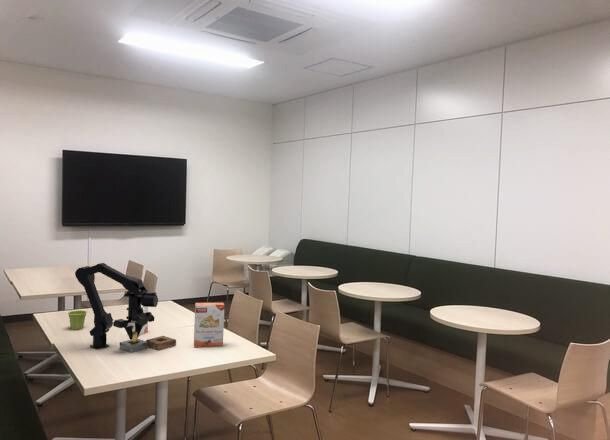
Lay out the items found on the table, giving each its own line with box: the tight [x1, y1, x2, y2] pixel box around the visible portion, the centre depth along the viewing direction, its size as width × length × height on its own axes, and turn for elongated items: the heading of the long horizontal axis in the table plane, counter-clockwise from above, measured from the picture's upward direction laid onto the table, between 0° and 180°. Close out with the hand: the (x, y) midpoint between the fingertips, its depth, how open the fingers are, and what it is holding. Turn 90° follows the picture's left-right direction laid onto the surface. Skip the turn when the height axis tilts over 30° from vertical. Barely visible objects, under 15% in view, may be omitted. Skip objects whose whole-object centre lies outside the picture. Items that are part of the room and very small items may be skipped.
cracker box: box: [193, 302, 225, 348], centre depth 232 cm, size 14×6×21 cm, turn 105°
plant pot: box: [67, 310, 88, 331], centre depth 253 cm, size 9×9×9 cm
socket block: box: [119, 338, 149, 354], centre depth 223 cm, size 9×9×3 cm
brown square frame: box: [145, 335, 177, 351], centre depth 228 cm, size 10×10×3 cm
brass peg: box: [130, 331, 138, 344], centre depth 223 cm, size 3×3×8 cm
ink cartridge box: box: [132, 305, 149, 336], centre depth 248 cm, size 9×5×15 cm, turn 168°
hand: (133, 338), depth 223 cm, fingers closed on brass peg, 3 cm apart
